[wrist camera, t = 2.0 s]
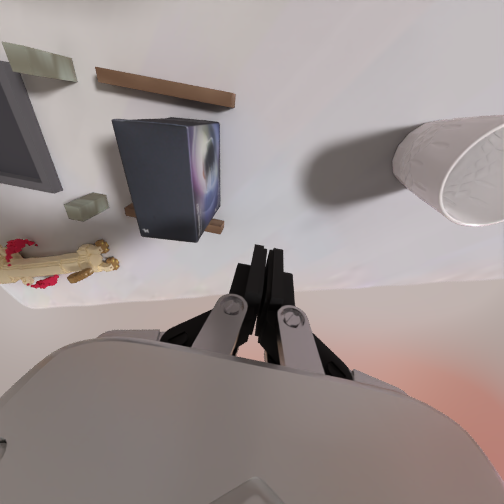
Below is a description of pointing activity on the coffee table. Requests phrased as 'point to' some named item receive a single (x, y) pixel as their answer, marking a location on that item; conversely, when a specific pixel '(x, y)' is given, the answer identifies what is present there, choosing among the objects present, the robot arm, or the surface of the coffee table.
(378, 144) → the coffee table surface
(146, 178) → the small box
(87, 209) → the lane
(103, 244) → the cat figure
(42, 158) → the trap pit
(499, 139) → the white cup
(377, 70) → the coffee table surface
